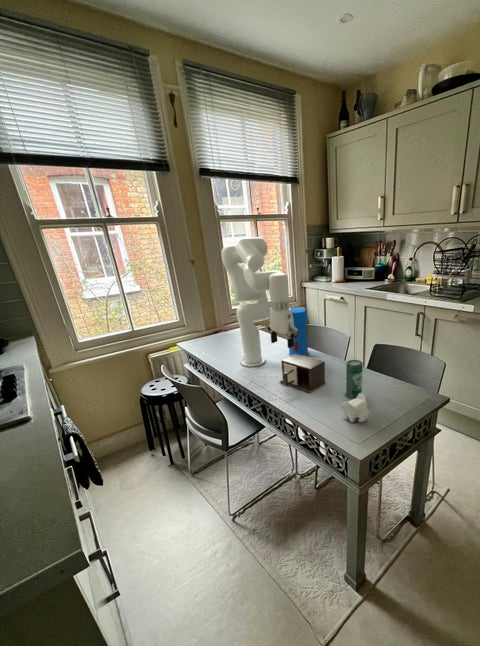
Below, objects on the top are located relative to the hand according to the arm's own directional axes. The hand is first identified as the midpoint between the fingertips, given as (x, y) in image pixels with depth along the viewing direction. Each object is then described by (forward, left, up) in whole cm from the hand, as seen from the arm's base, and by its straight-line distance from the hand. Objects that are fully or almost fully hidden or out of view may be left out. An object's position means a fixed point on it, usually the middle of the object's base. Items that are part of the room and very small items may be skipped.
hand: (282, 344), depth 135 cm
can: (+29, +11, -21) cm, 37 cm away
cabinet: (+4, +8, -20) cm, 22 cm away
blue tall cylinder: (-22, +35, -21) cm, 46 cm away
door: (+1, 0, -19) cm, 19 cm away
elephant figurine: (+39, -4, -21) cm, 44 cm away
